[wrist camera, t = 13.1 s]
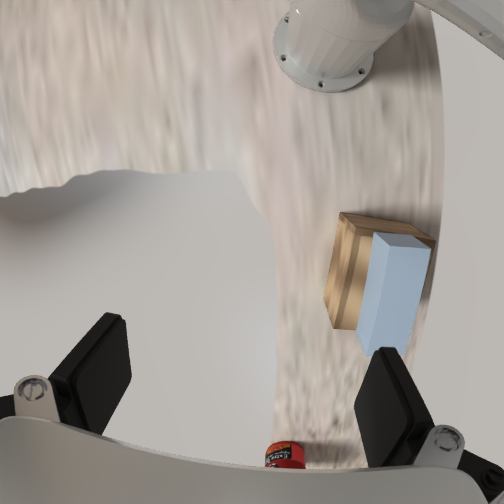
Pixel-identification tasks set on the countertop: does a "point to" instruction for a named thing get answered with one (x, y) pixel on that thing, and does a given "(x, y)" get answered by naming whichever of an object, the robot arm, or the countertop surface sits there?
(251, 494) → the robot arm
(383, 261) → the bar
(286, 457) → the canned food
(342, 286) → the cubby
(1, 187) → the countertop surface
